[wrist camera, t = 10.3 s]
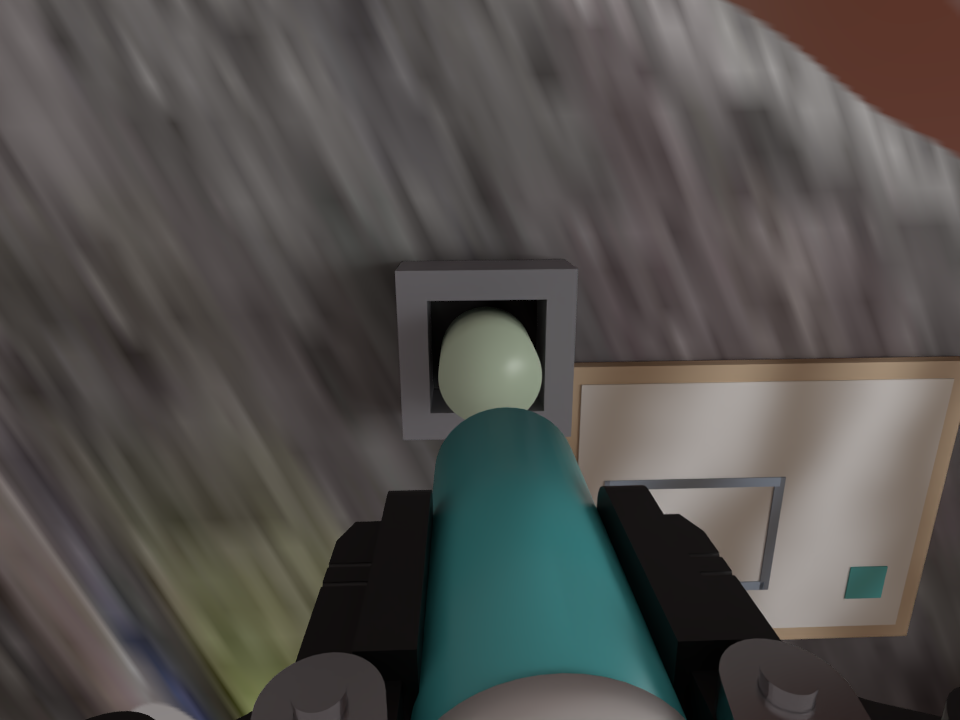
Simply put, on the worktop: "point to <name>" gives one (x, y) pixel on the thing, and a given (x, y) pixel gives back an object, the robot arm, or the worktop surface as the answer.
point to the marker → (529, 588)
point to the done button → (488, 363)
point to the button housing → (484, 282)
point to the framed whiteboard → (786, 472)
